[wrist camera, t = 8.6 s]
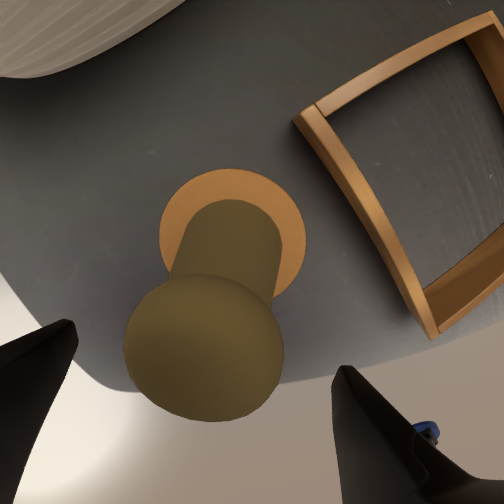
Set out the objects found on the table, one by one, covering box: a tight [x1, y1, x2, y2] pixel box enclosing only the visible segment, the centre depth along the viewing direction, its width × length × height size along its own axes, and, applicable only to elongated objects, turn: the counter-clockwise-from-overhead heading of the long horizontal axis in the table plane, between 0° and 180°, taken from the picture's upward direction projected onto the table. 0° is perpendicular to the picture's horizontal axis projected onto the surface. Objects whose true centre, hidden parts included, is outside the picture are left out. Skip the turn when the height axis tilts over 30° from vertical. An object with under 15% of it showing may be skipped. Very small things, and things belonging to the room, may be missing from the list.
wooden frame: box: [292, 11, 504, 341], centre depth 13 cm, size 16×16×4 cm
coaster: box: [159, 168, 306, 298], centre depth 18 cm, size 9×9×1 cm
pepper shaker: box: [123, 199, 284, 422], centre depth 13 cm, size 6×6×11 cm
